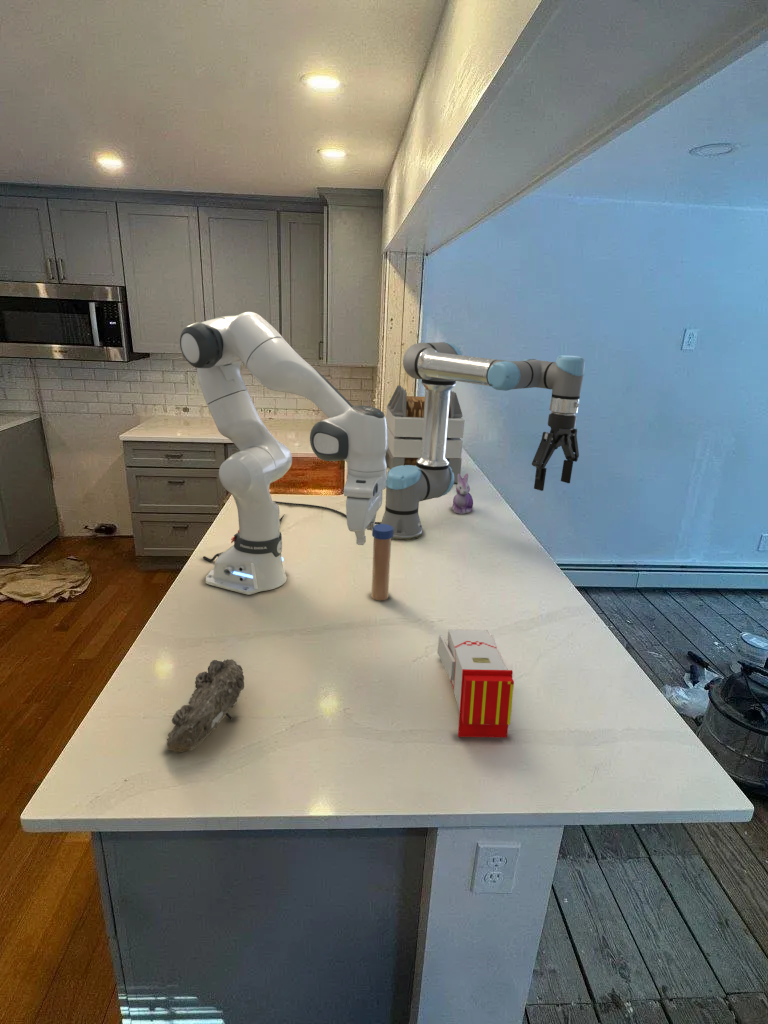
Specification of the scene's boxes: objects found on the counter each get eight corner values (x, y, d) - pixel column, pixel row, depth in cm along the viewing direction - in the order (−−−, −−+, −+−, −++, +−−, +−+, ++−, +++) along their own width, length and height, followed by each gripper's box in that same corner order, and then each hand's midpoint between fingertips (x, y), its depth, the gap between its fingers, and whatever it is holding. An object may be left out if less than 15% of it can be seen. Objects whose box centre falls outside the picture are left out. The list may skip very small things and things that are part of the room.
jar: (388, 592, 158) (391, 526, 151) (388, 601, 154) (391, 533, 147) (371, 592, 158) (374, 525, 152) (370, 600, 154) (373, 532, 147)
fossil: (192, 660, 117) (244, 628, 112) (224, 691, 120) (276, 661, 115) (142, 746, 98) (202, 712, 93) (182, 779, 101) (242, 748, 96)
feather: (291, 508, 223) (294, 504, 222) (274, 533, 196) (277, 528, 195) (287, 506, 222) (290, 502, 222) (270, 530, 196) (272, 526, 195)
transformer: (382, 463, 289) (386, 382, 275) (445, 464, 293) (451, 384, 279) (390, 482, 257) (394, 392, 243) (460, 483, 261) (468, 394, 247)
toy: (488, 613, 130) (523, 677, 101) (484, 667, 133) (517, 744, 104) (435, 612, 130) (455, 676, 101) (432, 666, 133) (451, 743, 103)
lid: (393, 532, 152) (393, 524, 152) (392, 540, 147) (393, 532, 147) (372, 531, 153) (373, 523, 152) (371, 539, 147) (371, 531, 147)
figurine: (459, 516, 220) (463, 478, 214) (445, 507, 228) (448, 471, 223) (479, 513, 224) (483, 476, 219) (464, 505, 232) (468, 469, 227)
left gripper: (364, 466, 138) (363, 520, 142) (341, 491, 119) (341, 551, 124) (389, 468, 137) (387, 522, 141) (370, 493, 118) (369, 554, 122)
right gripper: (548, 419, 148) (537, 496, 155) (598, 411, 163) (586, 482, 171) (525, 414, 153) (515, 489, 160) (575, 407, 169) (564, 476, 176)
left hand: (365, 536), depth 132 cm, fingers open, 8 cm apart
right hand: (552, 485), depth 166 cm, fingers open, 13 cm apart
